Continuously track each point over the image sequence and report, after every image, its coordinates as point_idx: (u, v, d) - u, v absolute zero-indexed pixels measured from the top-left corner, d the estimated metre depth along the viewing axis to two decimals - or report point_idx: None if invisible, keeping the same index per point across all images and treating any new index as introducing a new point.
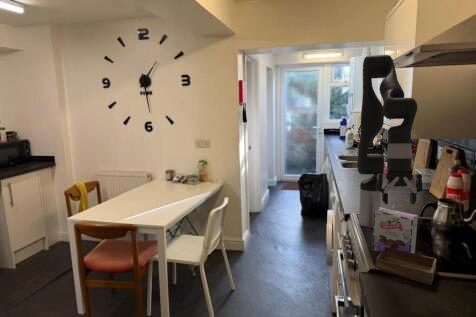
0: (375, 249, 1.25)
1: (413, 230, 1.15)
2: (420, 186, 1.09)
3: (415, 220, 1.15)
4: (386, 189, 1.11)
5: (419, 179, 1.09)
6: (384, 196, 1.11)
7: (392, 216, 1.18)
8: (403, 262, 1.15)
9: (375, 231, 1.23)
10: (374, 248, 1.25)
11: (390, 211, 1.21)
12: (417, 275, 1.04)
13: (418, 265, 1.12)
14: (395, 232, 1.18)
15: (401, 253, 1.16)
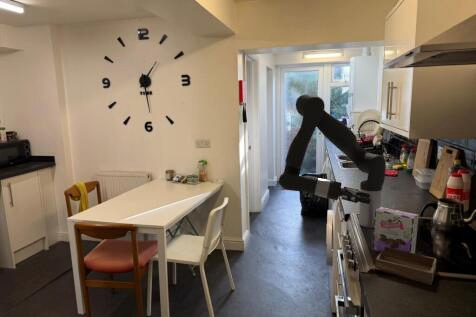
0: (375, 248, 1.25)
1: (414, 229, 1.15)
2: None
3: (416, 220, 1.16)
4: None
5: None
6: None
7: (392, 215, 1.19)
8: (403, 262, 1.15)
9: (376, 230, 1.24)
10: (374, 247, 1.25)
11: (391, 210, 1.21)
12: (417, 275, 1.04)
13: (418, 265, 1.12)
14: (396, 230, 1.18)
15: (401, 253, 1.16)
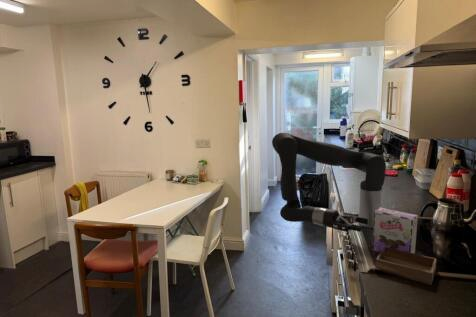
0: (375, 249, 1.25)
1: (413, 230, 1.15)
2: None
3: (415, 220, 1.15)
4: None
5: None
6: None
7: (391, 216, 1.18)
8: (403, 262, 1.15)
9: (375, 231, 1.23)
10: (374, 248, 1.25)
11: (390, 211, 1.21)
12: (417, 275, 1.04)
13: (418, 265, 1.12)
14: (395, 232, 1.18)
15: (401, 253, 1.16)
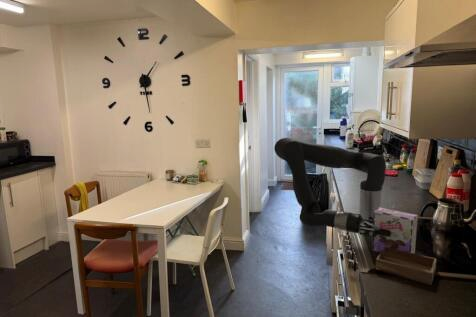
0: (375, 249, 1.24)
1: (413, 230, 1.15)
2: None
3: (415, 220, 1.15)
4: None
5: None
6: None
7: (391, 217, 1.18)
8: (403, 262, 1.15)
9: None
10: (374, 248, 1.25)
11: (390, 211, 1.21)
12: (417, 275, 1.04)
13: (418, 265, 1.12)
14: (395, 232, 1.18)
15: (401, 253, 1.16)
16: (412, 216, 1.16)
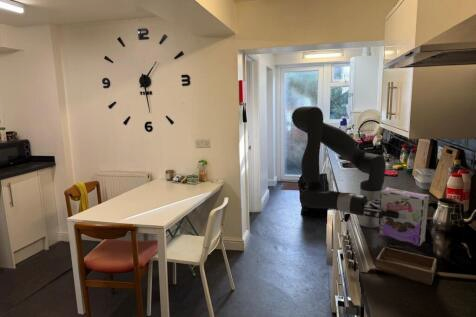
0: (381, 233, 1.14)
1: (424, 211, 1.04)
2: None
3: (426, 201, 1.05)
4: None
5: None
6: None
7: (400, 196, 1.07)
8: (403, 262, 1.15)
9: None
10: (380, 232, 1.14)
11: (398, 191, 1.10)
12: (417, 275, 1.04)
13: (418, 265, 1.12)
14: (404, 213, 1.07)
15: (401, 253, 1.16)
16: (423, 196, 1.05)
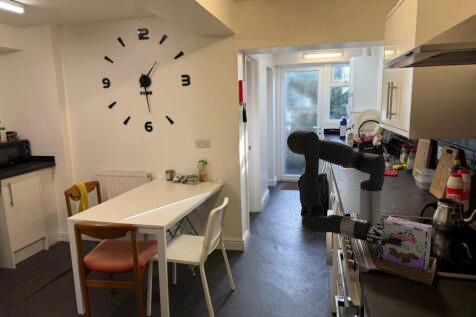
0: None
1: (427, 242, 1.04)
2: None
3: (430, 232, 1.04)
4: None
5: None
6: None
7: (403, 227, 1.06)
8: None
9: None
10: None
11: (401, 221, 1.09)
12: (417, 275, 1.04)
13: None
14: (407, 244, 1.06)
15: None
16: (426, 227, 1.04)
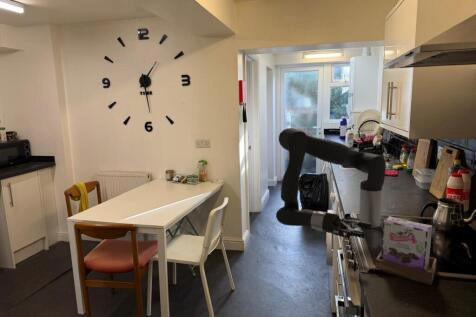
0: None
1: (427, 242, 1.04)
2: None
3: (430, 232, 1.04)
4: None
5: None
6: None
7: (403, 227, 1.06)
8: None
9: (384, 243, 1.12)
10: None
11: (401, 221, 1.09)
12: (417, 275, 1.04)
13: None
14: (407, 244, 1.06)
15: None
16: (426, 227, 1.04)
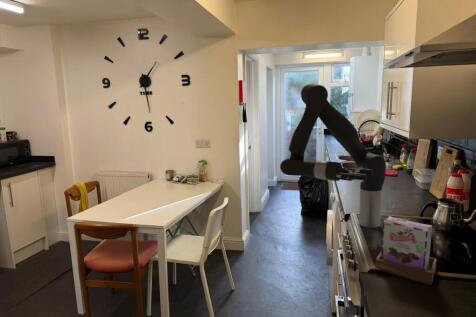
0: None
1: (427, 242, 1.04)
2: None
3: (430, 232, 1.04)
4: None
5: None
6: None
7: (403, 227, 1.06)
8: None
9: (384, 243, 1.12)
10: None
11: (401, 221, 1.09)
12: (417, 275, 1.04)
13: None
14: (407, 244, 1.06)
15: None
16: (426, 227, 1.04)
